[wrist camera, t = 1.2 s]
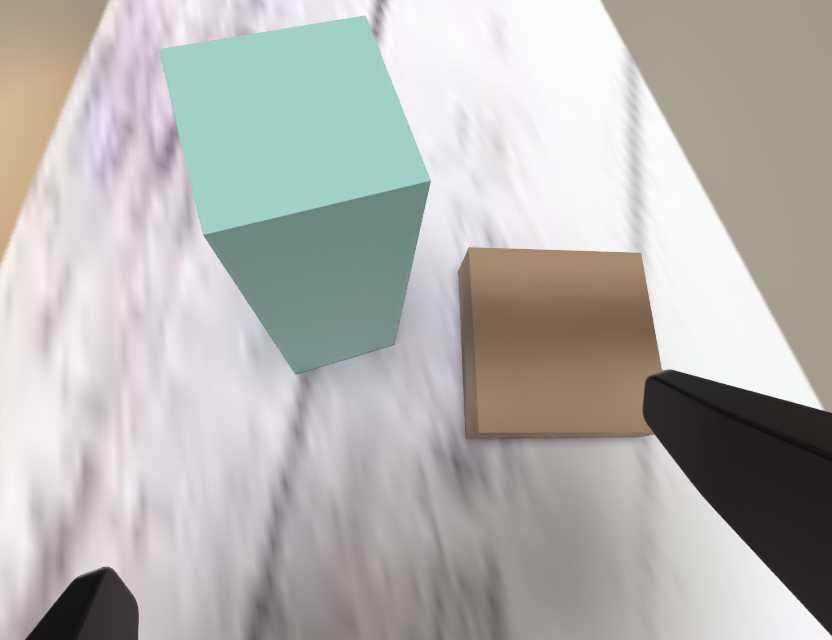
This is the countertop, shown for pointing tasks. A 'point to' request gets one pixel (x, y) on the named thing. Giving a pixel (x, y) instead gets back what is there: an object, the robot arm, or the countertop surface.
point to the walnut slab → (555, 343)
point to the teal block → (304, 181)
